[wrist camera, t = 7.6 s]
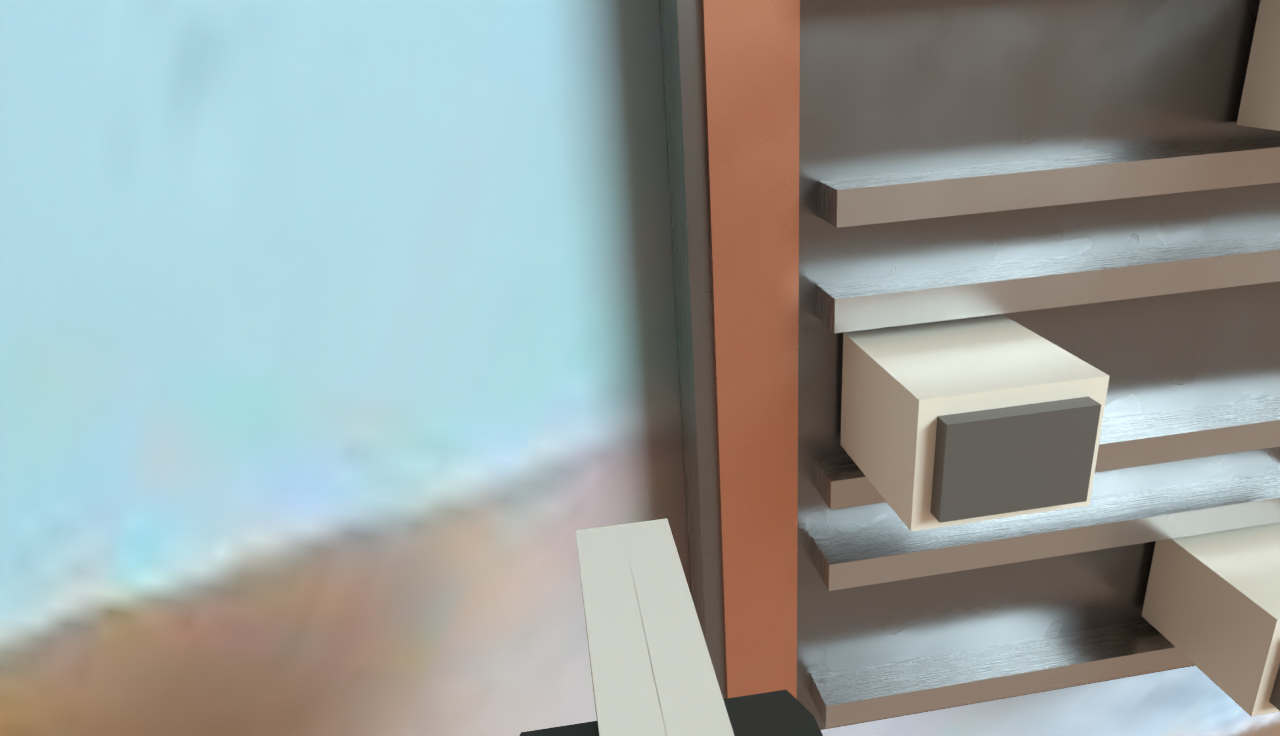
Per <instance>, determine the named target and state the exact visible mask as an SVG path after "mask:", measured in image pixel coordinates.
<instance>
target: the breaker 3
mask: <svg viewBox="0 0 1280 736" xmlns="http://www.w3.org/2000/svg"><path fill="white" fill-rule="evenodd" d="M1236 125H1240V126H1247V127H1255V128H1263V129H1270V130H1278V131H1280V0H1260V5H1259V10H1258V15H1257V20H1256V25H1255V30H1254V36H1253V41H1252V46H1251V51H1250V56H1249V62H1248V67H1247V72H1246V77H1245V82H1244V87H1243V93H1242V98H1241V103H1240V108H1239V113H1238V119H1237V124H1236Z"/></svg>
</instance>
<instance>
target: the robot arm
mask: <svg viewBox="0 0 1280 736" xmlns="http://www.w3.org/2000/svg"><path fill="white" fill-rule="evenodd" d="M575 531H576V540H577V549H578V558H579V567H580V576H581V585H582V594H583V603H584V612H585V621H586V630H587V639H588V648H589V657H590V666H591V674H592V683H593V691H594V700H595V709H596V717H597V721H593V722H587V723H580V724H574V725H567V726H561V727H554V728H548V729H541V730H535V731H528V732H522V733H521V734H520V736H822V733H821V731H820V729H819V727H818V724H817V722H816V720H815V717H814V716H813V715H812V714H811V713H810V712H809V711H808V710H807V709H806V708H805V707H804V706H803V705H802V704H801V703H800V702H799V701H798V700H797V699H796V698H795V697H794V696H793V695H792V694H790V693H789V692H788V691H787V690H780V691H773V692H767V693H760V694H754V695H747V696H740V697H734V698H727V699H723V697H722V694H721V691H720V687H719V684H718V681H717V678H716V674H715V671H714V668H713V665H712V662H711V658H710V655H709V652H708V649H707V645H706V642H705V639H704V636H703V632H702V629H701V626H700V623H699V619H698V616H697V613H696V610H695V606H694V603H693V600H692V597H691V594H690V590H689V587H688V584H687V581H686V577H685V574H684V571H683V568H682V564H681V561H680V558H679V555H678V551H677V548H676V545H675V542H674V538H673V535H672V532H671V529H670V526H669V522H668V519H667V518H666V519H658V520H650V521H643V522H635V523H627V524H620V525H612V526H604V527H597V528H589V529H582V530H575Z"/></svg>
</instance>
